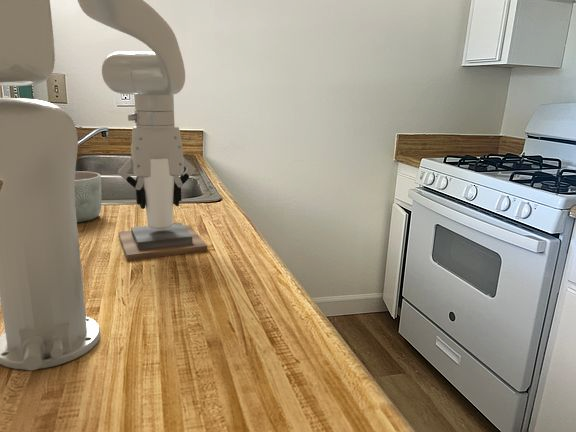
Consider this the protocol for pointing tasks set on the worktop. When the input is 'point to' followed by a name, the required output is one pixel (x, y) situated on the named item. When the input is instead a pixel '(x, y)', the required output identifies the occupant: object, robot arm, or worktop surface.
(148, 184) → the drinking glass
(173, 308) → the worktop surface
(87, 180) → the planter
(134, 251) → the base
